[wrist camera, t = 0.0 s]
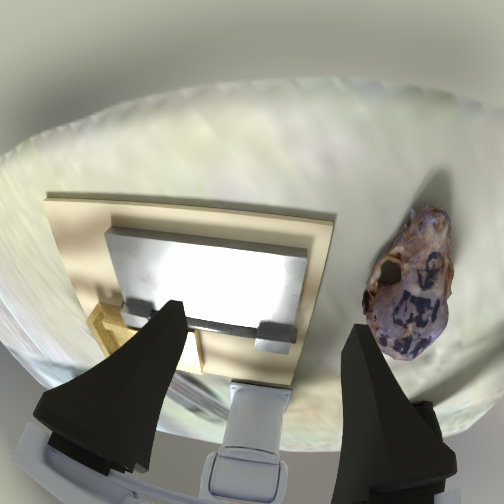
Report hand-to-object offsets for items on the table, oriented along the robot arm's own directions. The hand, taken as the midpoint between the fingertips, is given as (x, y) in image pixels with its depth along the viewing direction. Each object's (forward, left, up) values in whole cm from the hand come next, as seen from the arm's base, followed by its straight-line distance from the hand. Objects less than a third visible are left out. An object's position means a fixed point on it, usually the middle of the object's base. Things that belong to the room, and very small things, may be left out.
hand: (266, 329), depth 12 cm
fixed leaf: (-7, +6, -10) cm, 13 cm away
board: (-11, +9, -10) cm, 18 cm away
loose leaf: (-16, +13, -9) cm, 23 cm away
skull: (-3, -11, -10) cm, 15 cm away
